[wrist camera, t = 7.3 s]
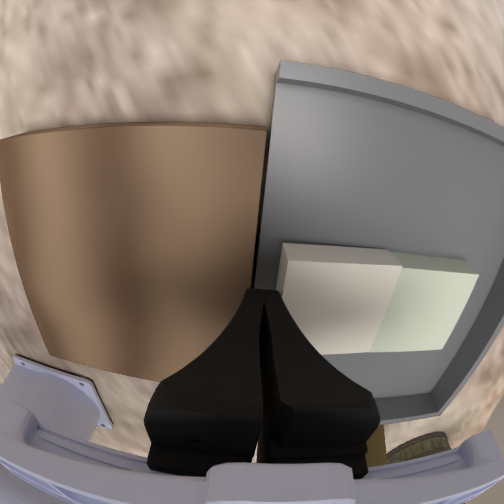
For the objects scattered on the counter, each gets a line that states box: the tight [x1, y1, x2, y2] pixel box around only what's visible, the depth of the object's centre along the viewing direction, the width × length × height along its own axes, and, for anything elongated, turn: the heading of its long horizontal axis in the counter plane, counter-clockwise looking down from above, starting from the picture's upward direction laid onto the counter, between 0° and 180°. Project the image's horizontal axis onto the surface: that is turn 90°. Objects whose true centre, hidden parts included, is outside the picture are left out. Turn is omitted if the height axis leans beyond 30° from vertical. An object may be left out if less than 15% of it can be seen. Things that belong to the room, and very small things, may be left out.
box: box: [253, 60, 504, 425], centre depth 14 cm, size 15×19×4 cm
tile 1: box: [369, 252, 479, 352], centre depth 14 cm, size 5×5×2 cm
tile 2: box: [276, 243, 403, 355], centre depth 13 cm, size 5×5×2 cm
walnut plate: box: [0, 122, 267, 382], centre depth 14 cm, size 13×14×2 cm
